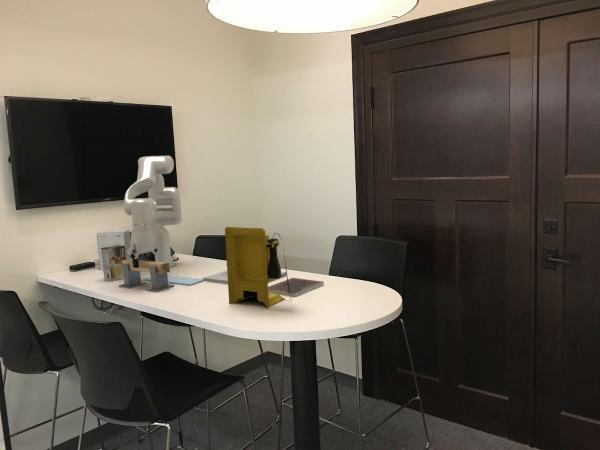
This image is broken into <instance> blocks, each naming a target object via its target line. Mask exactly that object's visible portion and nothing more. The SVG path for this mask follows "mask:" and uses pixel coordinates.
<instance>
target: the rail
mask: <svg viewBox="0 0 600 450" xmlns="http://www.w3.org/2000/svg"><path fill="white" fill-rule="evenodd" d="M138 260H139V259H138ZM123 264H129V268H130V270H132V271H140V272H143V273H150V267H151V266H155V267H157V273H160V274H164V273H167V274H168V273H170V272H171V270H170V269H171V267H169V263H168V262H167V263H165V262H154V261H149V260H144V259H143V260H139V268H133V261H132V259H125V260H121V269H123Z"/></svg>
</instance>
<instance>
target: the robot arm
mask: <svg viewBox="0 0 600 450" xmlns="http://www.w3.org/2000/svg"><path fill="white" fill-rule="evenodd" d="M137 165H138V168H137V179H136V181H135V182H134V183H133V184H131V185H130V186H129V187H128V189H127V190H126V192H125V194H124V201H123V211H124V213H125V214H126V215H127V216H131V221H132V231H131V232H130V241H131V247H130V248H129V249H128V250H127V253H128V254H129V256H130V257H131V259H132V261H133V268H139V259H138V258H139V256H140V255H142V254H149V256H148V257H149V258H148V259H149V260H148V261H154V262H165V263H167V262H168V263H169V267H170V268H171V267H174V266H175V262H174V261H177V260H178V256H172V253H171V240H170V232H169V231H168V229H167V228H166V226H176V225H180V224H181V223H182V219H183V214H182V204H181V203H182V202H181V194H180V190H179V189H178V188H177V187H176V186H170V187H169V186H167V187H165V178H164V177H163V175H167V174H171V173H172V172H173V170H174V166H175V164H174V159H173V158H172V156H170V155H150V156H142V157H139V159H138V160H137ZM144 193H148V198H147V197H146V198H136V197H137V196H139V195H141V194H144ZM160 206H171V207H160Z"/></svg>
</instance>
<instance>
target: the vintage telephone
mask: <svg viewBox="0 0 600 450" xmlns="http://www.w3.org/2000/svg"><path fill="white" fill-rule="evenodd" d="M275 234H276V235H278V236H279V238H280V239H282V237H281V235H280V233H277V232H274V234H273V236H272V238H270V236H269V234H267V233H266V229H265V228H263V227H241V226H226V227H225V228H224V237H225V254H226V270H227V275H228V284H227V286H228V287H227V289H228V290H227V292H228V305H231V304H232V305H233V304H235V305H236V304H238V303H240V302H243V301H245V300H246V299H249V298H252V297H253V298H257V301H258V302H262V304H264V305H265V306H266V309H267V310H270V307H272V306H274V305H276V304H279V303H280V302H282V301H285V302H286V301H287V302H290V303H291V300H292V297H291V296H289V299H290V301H289V300H287V299H286V298H285V297H283V296H282V295H279V294H271V293H268V286H269V283H271V282H272V281H271V280H274V281H276V280H277V281H278V280H280V279H282V278H281V272H282V269H281V268H282V267H281V265H280V261H279V258H278V247H279V246H280V241H279V239H278V238H274V237H275ZM281 242H282V244H283V241H281ZM284 250H285V249H284V248H283V252H285V251H284ZM283 258H284V260H286V257H285V255H283ZM286 265H287V263H286V262H284V267H285V268H287V266H286ZM285 272H286V280H287V283H288V279H289V277H288V271H287V269H285ZM288 290H289V284H288ZM289 294H290V290H289Z"/></svg>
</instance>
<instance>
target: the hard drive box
mask: <svg viewBox="0 0 600 450" xmlns="http://www.w3.org/2000/svg"><path fill="white" fill-rule="evenodd" d="M96 239H97V242H96V243H97V251H98V261H99V269H100V268H103V262H102V252H101V248H103V247H109V246H114V245H122V246H125V255H126V259H131V257H130V256H129V254H128V253H127V250H128V249H129V248H130V247H131V232H130V230H105V231H104V230H103V231H100V232H96Z"/></svg>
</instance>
